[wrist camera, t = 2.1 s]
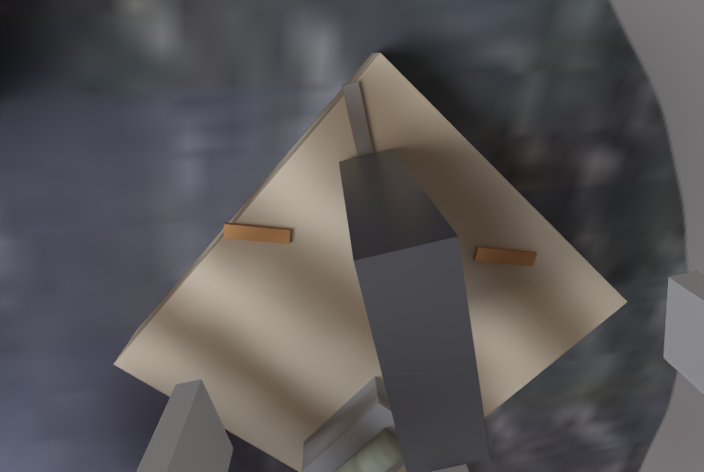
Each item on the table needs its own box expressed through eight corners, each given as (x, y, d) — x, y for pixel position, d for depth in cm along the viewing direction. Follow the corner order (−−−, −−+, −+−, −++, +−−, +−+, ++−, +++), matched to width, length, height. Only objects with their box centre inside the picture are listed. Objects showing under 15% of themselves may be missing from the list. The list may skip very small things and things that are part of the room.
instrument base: (364, 471, 31) (374, 567, 25) (130, 327, 26) (74, 408, 20) (595, 275, 26) (673, 338, 20) (367, 47, 21) (384, 45, 15)
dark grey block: (338, 161, 19) (354, 268, 10) (392, 148, 19) (463, 243, 10) (379, 331, 23) (421, 535, 13) (425, 321, 23) (502, 518, 13)
